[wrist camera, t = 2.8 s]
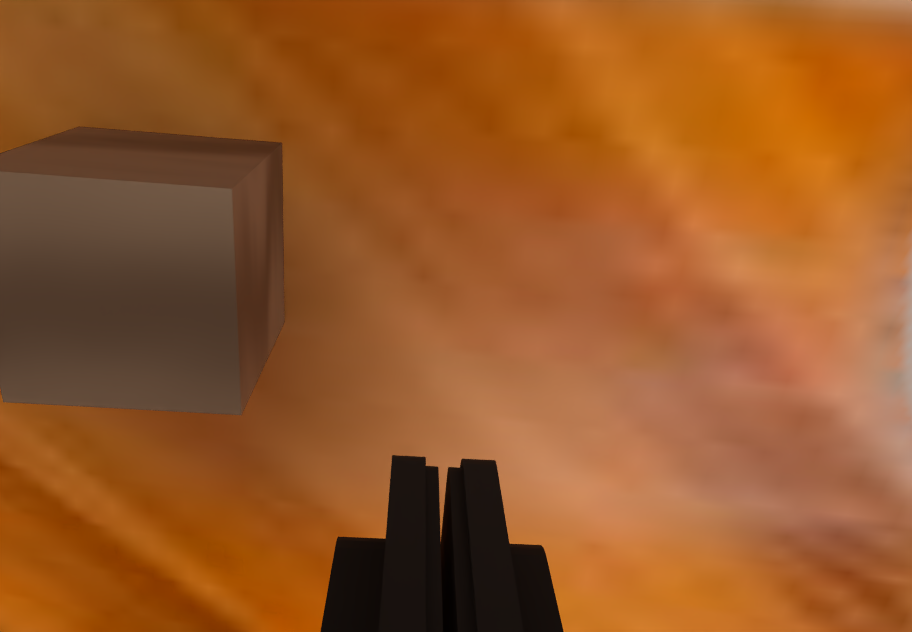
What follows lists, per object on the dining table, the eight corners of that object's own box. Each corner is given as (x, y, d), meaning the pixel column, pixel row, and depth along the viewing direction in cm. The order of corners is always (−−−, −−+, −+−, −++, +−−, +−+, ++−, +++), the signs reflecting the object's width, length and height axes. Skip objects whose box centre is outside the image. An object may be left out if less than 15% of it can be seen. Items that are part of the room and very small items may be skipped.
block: (80, 126, 21) (-44, 168, 16) (282, 142, 21) (232, 188, 16) (103, 309, 23) (3, 402, 18) (285, 321, 24) (241, 415, 18)
